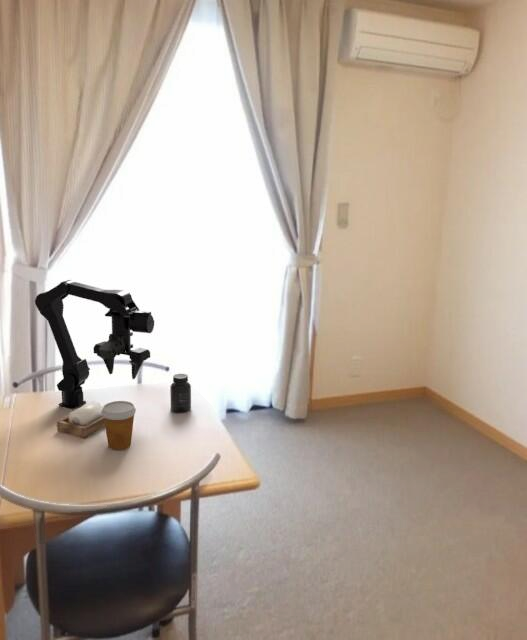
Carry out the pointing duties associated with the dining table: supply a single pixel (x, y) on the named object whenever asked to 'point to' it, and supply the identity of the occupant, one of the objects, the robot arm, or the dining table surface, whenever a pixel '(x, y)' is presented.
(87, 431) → the walnut cradle
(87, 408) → the paper roll
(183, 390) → the supplement bottle
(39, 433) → the dining table surface
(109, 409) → the disposable coffee cup
